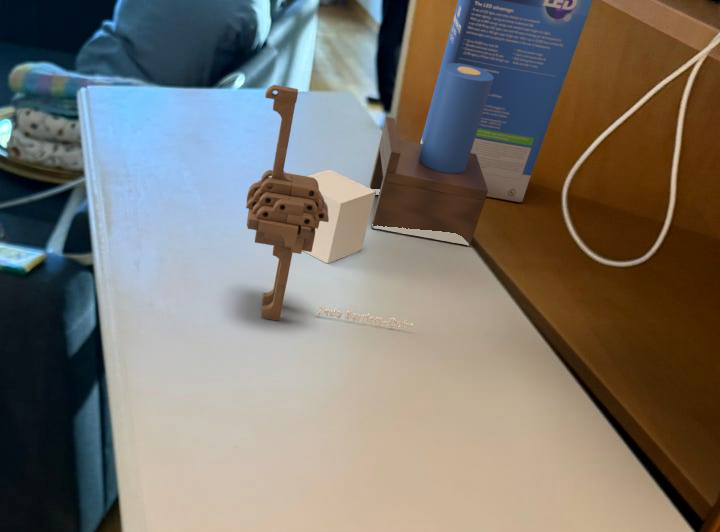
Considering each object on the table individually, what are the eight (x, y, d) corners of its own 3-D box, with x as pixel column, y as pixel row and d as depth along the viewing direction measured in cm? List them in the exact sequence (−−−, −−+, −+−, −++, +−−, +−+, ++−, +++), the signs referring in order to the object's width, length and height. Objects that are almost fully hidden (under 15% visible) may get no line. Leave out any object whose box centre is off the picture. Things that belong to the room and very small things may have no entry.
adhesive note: (316, 228, 99) (329, 169, 95) (361, 250, 97) (376, 191, 93) (281, 240, 96) (293, 179, 91) (327, 264, 93) (341, 202, 89)
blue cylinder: (462, 160, 103) (490, 68, 97) (467, 177, 100) (497, 83, 93) (416, 151, 103) (442, 58, 96) (420, 168, 99) (446, 73, 93)
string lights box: (513, 182, 119) (600, -66, 100) (522, 205, 113) (615, -52, 95) (412, 163, 118) (481, -91, 99) (416, 185, 112) (489, -78, 94)
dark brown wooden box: (459, 207, 110) (482, 134, 104) (469, 247, 102) (494, 170, 96) (368, 190, 109) (386, 116, 103) (371, 229, 101) (391, 151, 96)
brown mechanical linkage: (229, 321, 82) (263, 97, 69) (232, 287, 87) (265, 71, 74) (415, 351, 84) (482, 137, 71) (408, 316, 88) (470, 109, 75)
